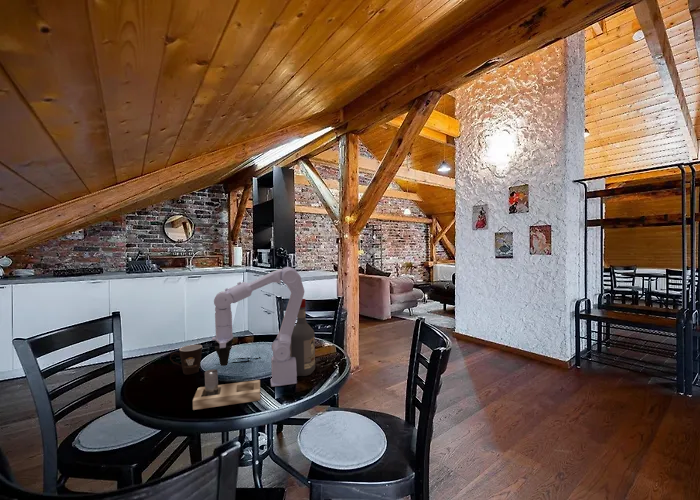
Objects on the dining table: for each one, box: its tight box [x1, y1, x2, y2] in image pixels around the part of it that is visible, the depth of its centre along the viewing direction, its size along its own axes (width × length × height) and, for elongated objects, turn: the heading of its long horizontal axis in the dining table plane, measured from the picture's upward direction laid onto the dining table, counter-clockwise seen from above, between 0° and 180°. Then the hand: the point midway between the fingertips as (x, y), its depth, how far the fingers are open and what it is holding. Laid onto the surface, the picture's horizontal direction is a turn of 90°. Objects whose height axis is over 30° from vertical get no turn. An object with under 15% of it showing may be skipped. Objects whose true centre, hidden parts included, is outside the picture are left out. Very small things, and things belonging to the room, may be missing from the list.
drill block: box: [192, 379, 261, 411], centre depth 113 cm, size 21×10×3 cm, turn 106°
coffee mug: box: [169, 344, 203, 375], centre depth 138 cm, size 12×9×10 cm
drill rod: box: [204, 368, 219, 396], centre depth 112 cm, size 4×4×10 cm
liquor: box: [290, 298, 316, 377], centre depth 135 cm, size 9×9×30 cm
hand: (225, 361), depth 120 cm, fingers open, 7 cm apart
